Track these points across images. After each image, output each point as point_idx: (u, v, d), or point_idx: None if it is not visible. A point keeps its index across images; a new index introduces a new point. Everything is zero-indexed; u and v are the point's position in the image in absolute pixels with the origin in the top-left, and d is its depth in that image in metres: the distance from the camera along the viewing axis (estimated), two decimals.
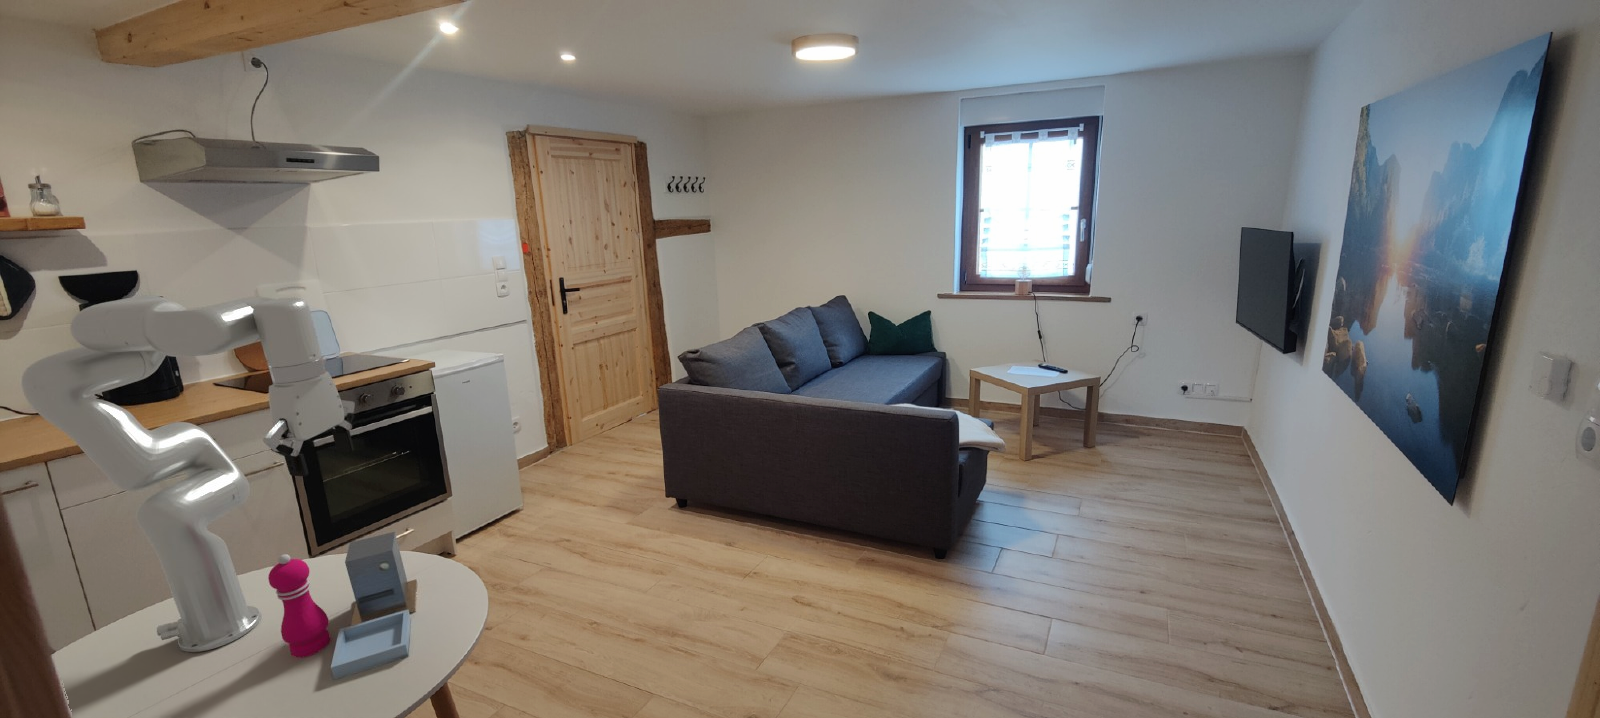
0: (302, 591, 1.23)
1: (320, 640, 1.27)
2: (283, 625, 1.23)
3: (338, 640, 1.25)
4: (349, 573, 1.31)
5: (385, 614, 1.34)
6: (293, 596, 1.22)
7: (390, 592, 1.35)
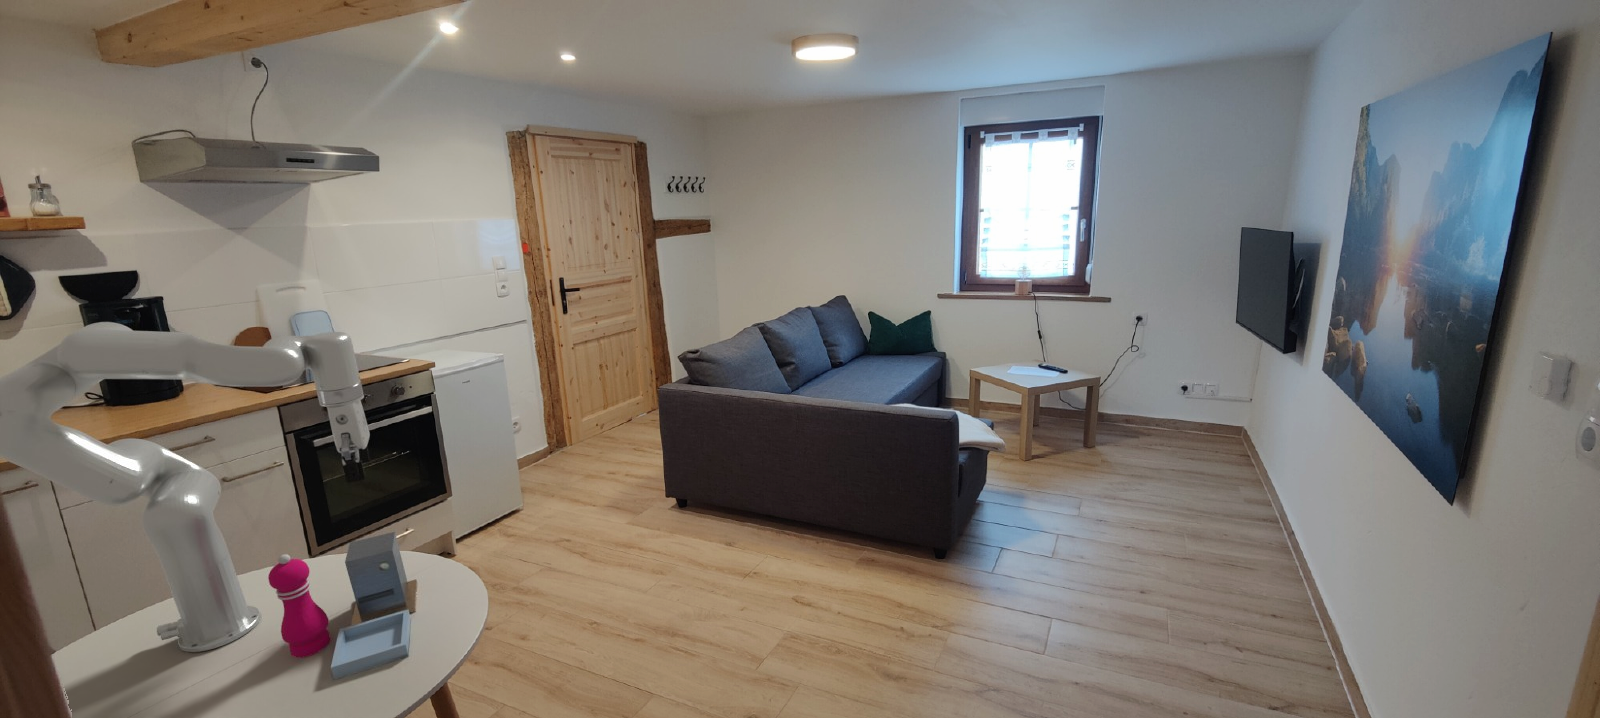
0: (302, 591, 1.23)
1: (320, 640, 1.27)
2: (283, 625, 1.23)
3: (338, 640, 1.25)
4: (349, 573, 1.31)
5: (385, 614, 1.34)
6: (293, 596, 1.22)
7: (390, 592, 1.35)
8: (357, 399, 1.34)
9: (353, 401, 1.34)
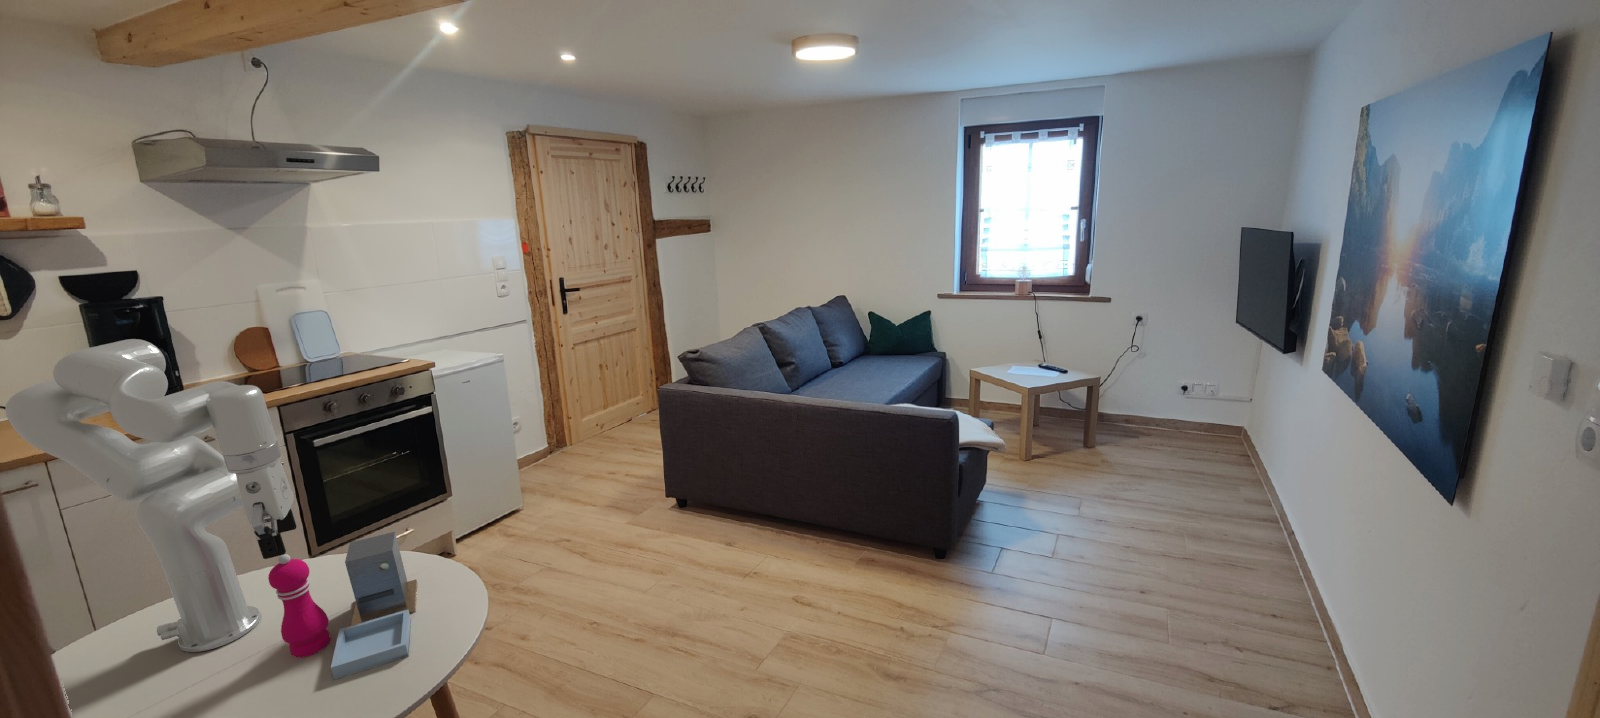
0: (302, 591, 1.23)
1: (320, 640, 1.27)
2: (283, 625, 1.23)
3: (338, 640, 1.25)
4: (349, 573, 1.31)
5: (385, 614, 1.34)
6: (293, 596, 1.22)
7: (390, 592, 1.35)
8: (272, 462, 1.16)
9: (267, 465, 1.15)
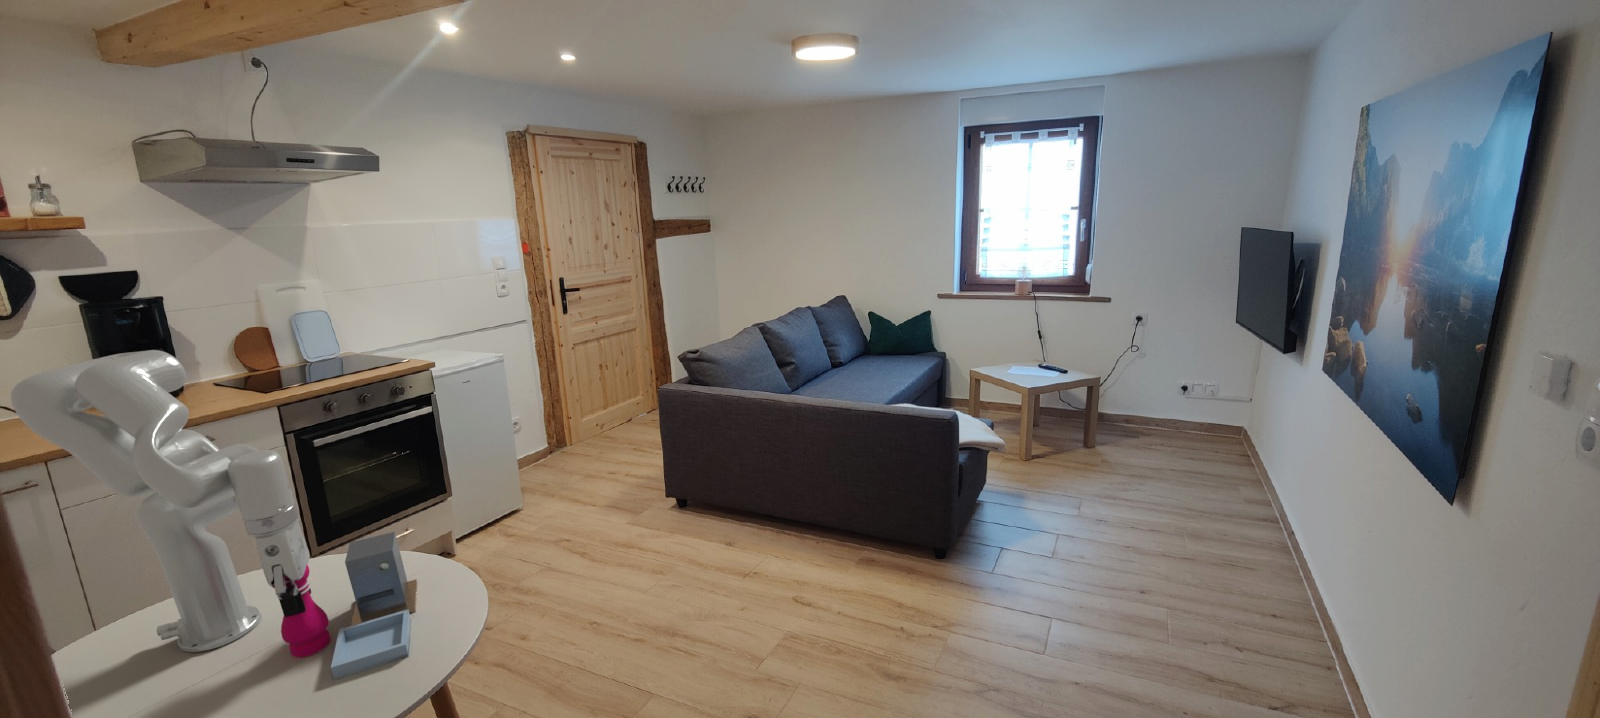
0: (302, 591, 1.23)
1: (320, 640, 1.27)
2: (283, 625, 1.23)
3: (338, 640, 1.25)
4: (349, 573, 1.31)
5: (385, 614, 1.34)
6: None
7: (390, 592, 1.35)
8: (290, 525, 1.19)
9: (285, 528, 1.19)
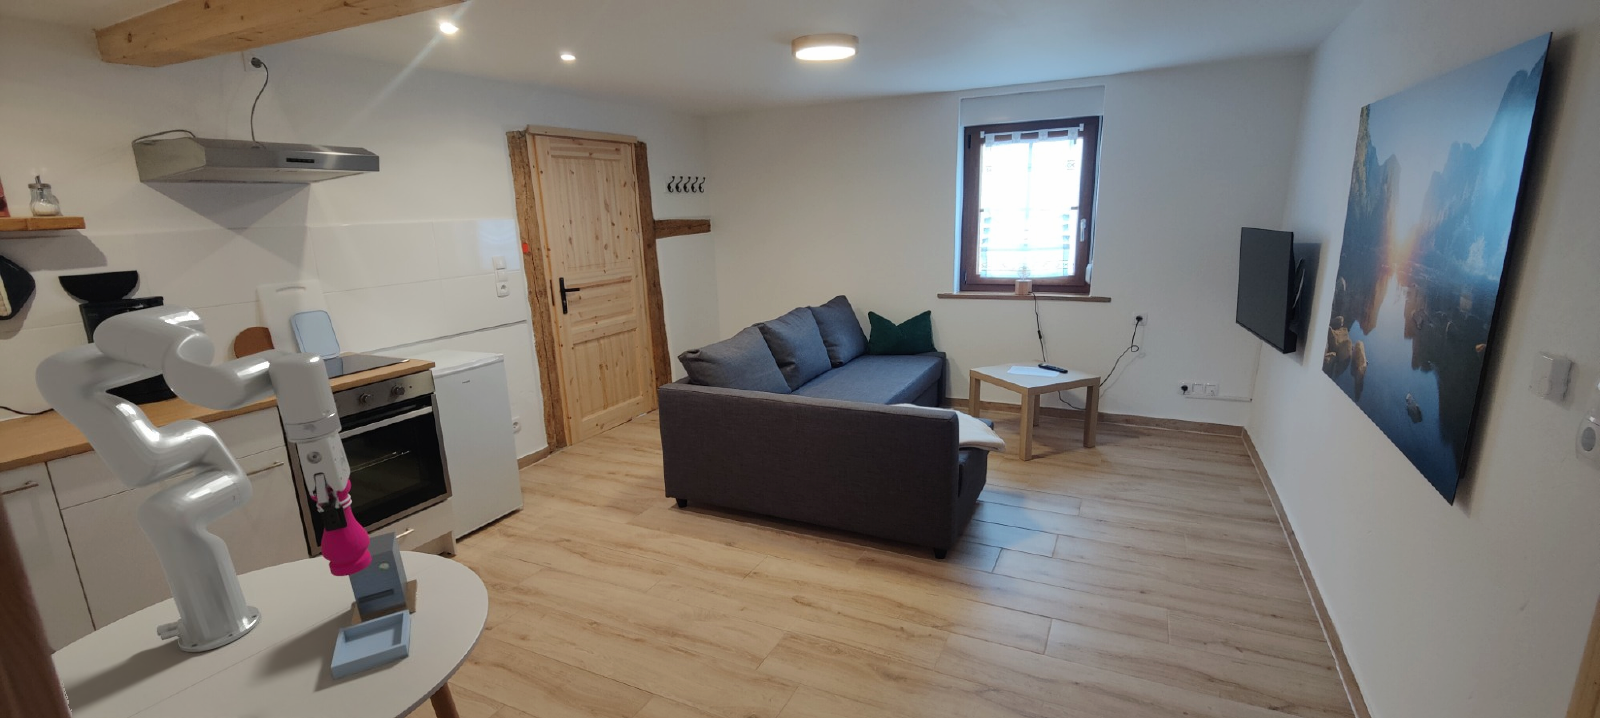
0: (344, 505, 1.17)
1: (361, 559, 1.20)
2: (323, 541, 1.17)
3: (338, 640, 1.25)
4: None
5: (385, 614, 1.34)
6: None
7: (390, 592, 1.35)
8: (333, 432, 1.13)
9: (328, 435, 1.12)
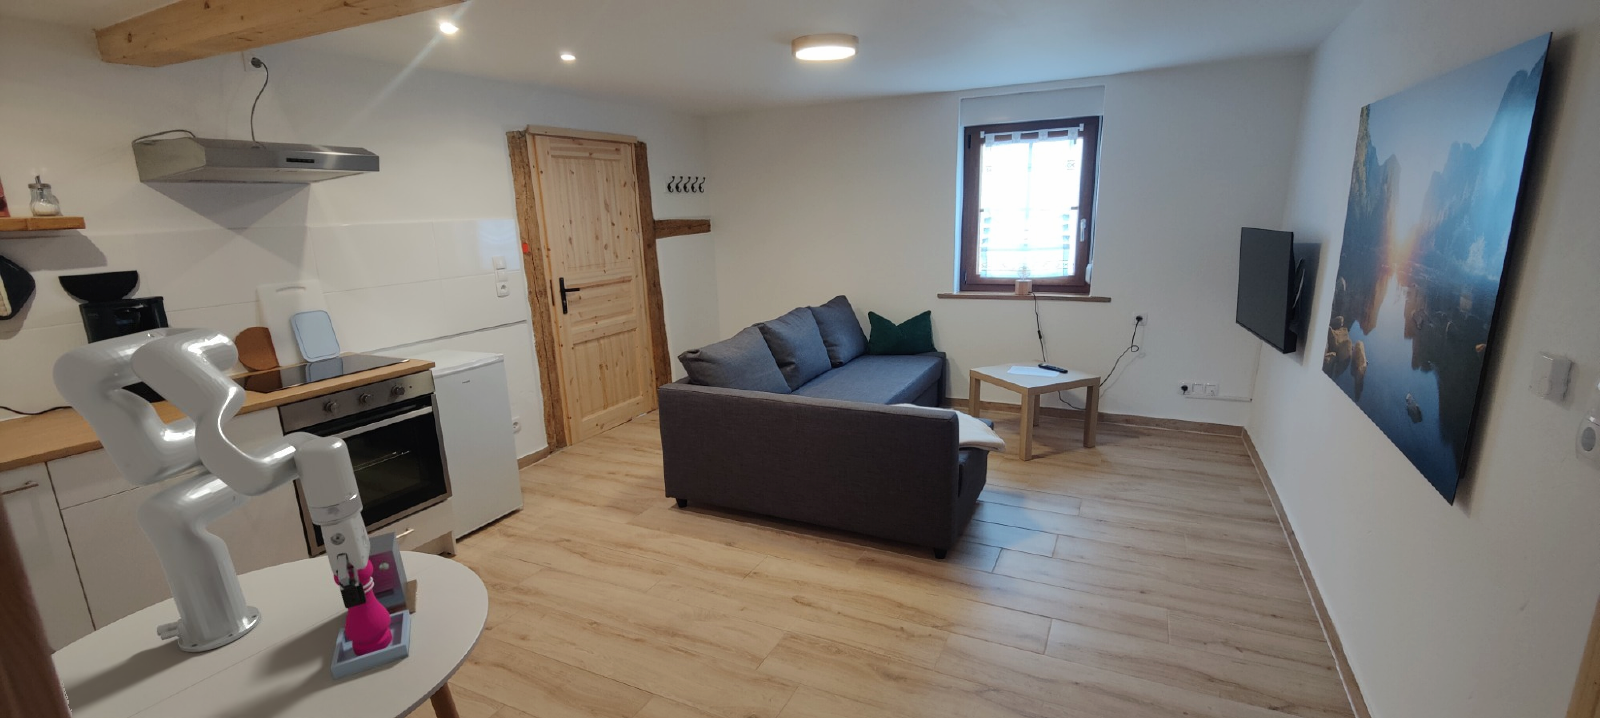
0: (366, 588, 1.22)
1: (383, 638, 1.25)
2: (347, 623, 1.22)
3: (338, 640, 1.25)
4: None
5: None
6: None
7: (390, 592, 1.35)
8: (355, 513, 1.17)
9: (350, 516, 1.17)
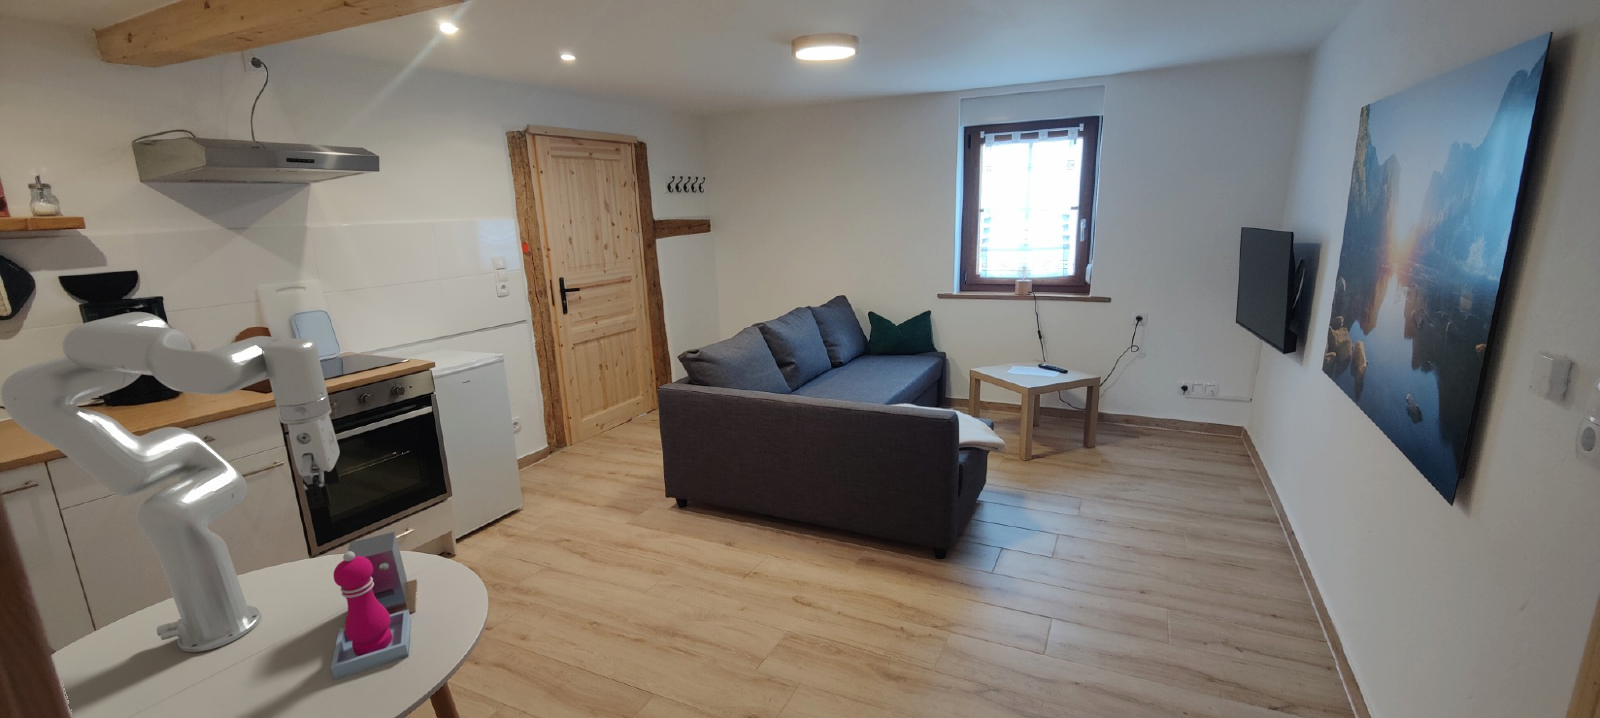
0: (367, 588, 1.22)
1: (383, 638, 1.25)
2: (347, 623, 1.22)
3: (338, 640, 1.25)
4: None
5: None
6: (358, 594, 1.21)
7: (390, 592, 1.35)
8: (322, 415, 1.18)
9: (317, 417, 1.18)
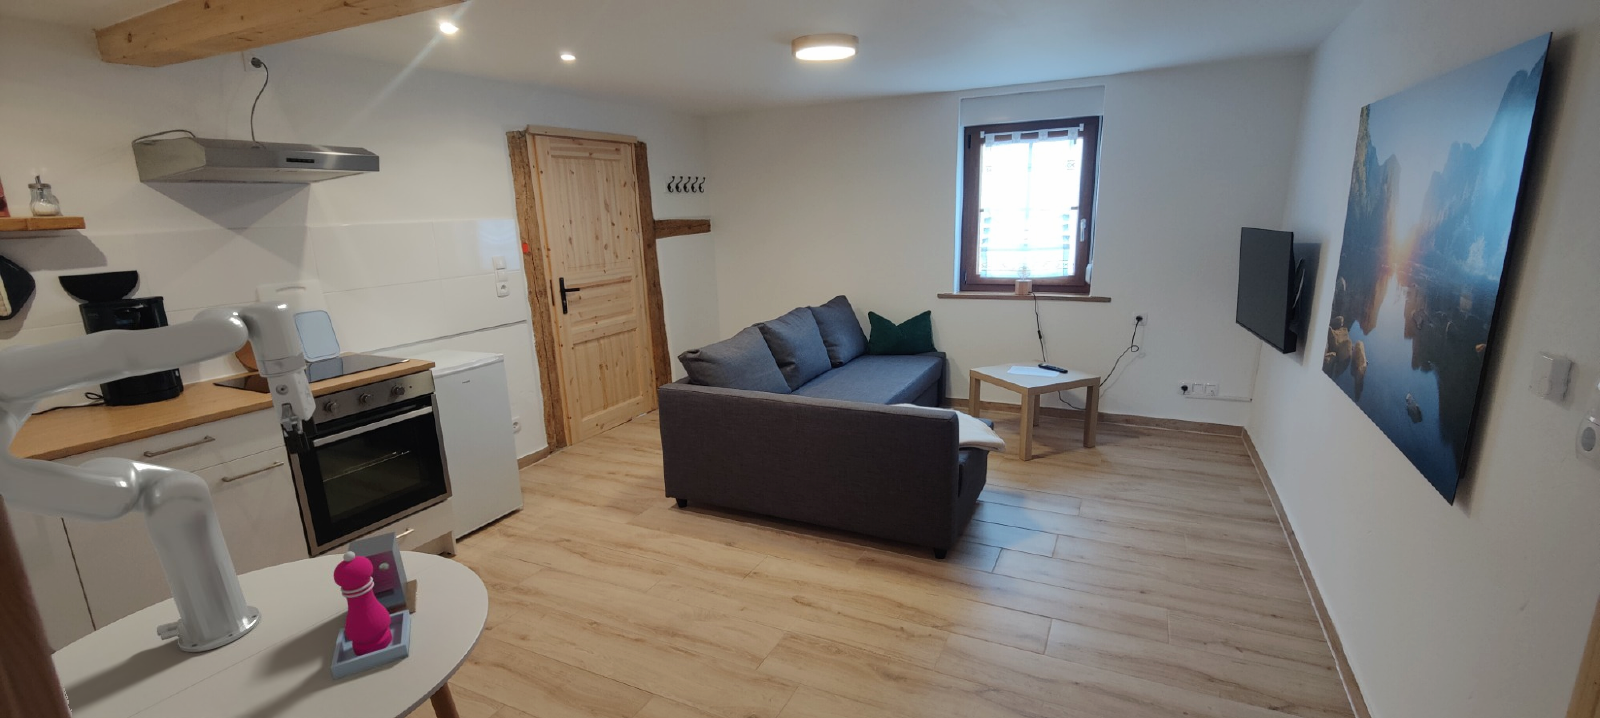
0: (367, 588, 1.22)
1: (383, 638, 1.25)
2: (347, 623, 1.22)
3: (338, 640, 1.25)
4: None
5: None
6: (358, 594, 1.21)
7: (390, 592, 1.35)
8: (298, 369, 1.32)
9: (294, 371, 1.31)
